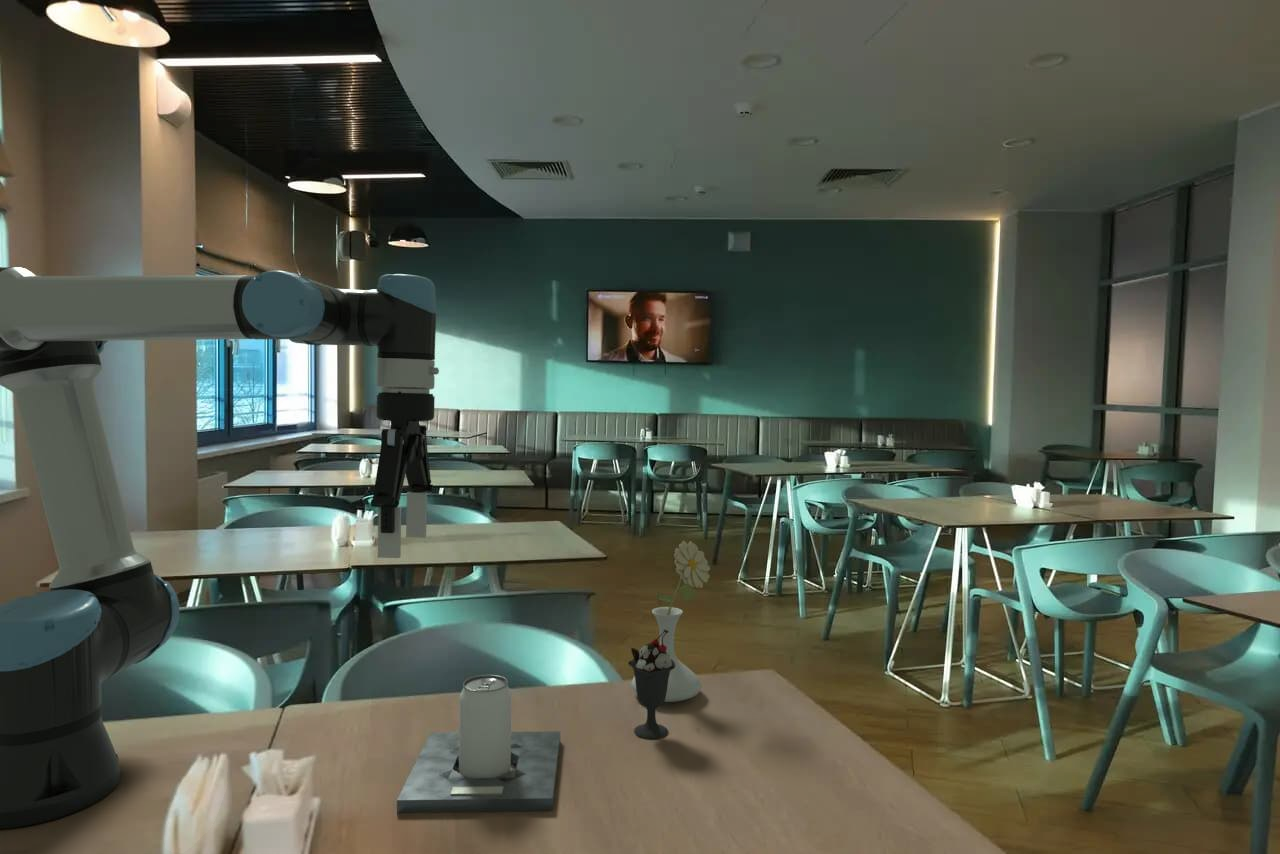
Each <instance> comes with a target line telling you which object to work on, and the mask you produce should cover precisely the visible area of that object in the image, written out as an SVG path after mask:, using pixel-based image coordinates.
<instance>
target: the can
mask: <svg viewBox="0 0 1280 854" xmlns="http://www.w3.org/2000/svg"><path fill="white" fill-rule="evenodd" d="M508 684H509V681H508V679H507V678H505V677H504V676H501V675H497V674H482V675H481V674H480V675H475V676H472V677H470V678H467V679H465V680H464V682H463V684H462V686H463V688H462V690H461V692H460V695H459V729H458V730H459V731H458V732H459V769H458V770H459V771H458V773H460V774H462V775H463V776H465V777H467V778H496V777H498V776H500V775H503V774H505V773H507V772H510V771H511V768H512V767H511V764H512V763H511V732H512V694H511V693H512V692H511V690H510V687H509V686H508Z"/></svg>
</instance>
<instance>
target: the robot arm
mask: <svg viewBox="0 0 1280 854" xmlns="http://www.w3.org/2000/svg"><path fill="white" fill-rule="evenodd" d="M436 301H437V299H436V285H435V284H434V282H433V281H432V280H431V279H430V278H428V277H424V276H420V275H414V274H403V273H395V274H389V273H388V274H384V275H383V274H382V275H381V276H380V277H379V278H378V283H377V286H376V288H375V289H365V290H363V289H351V288H350V289H349V288H335V287H333V286H329V285H327V284H323V283H320V282H318V281H316V280H313V279H310V278H308V277H306V276H304V275H302V274H298V273H296V272H295V271H285V270H284V271H283V270H275V269H274V270H267V271H264V272H261V273H259V274H255V275H247V274H246V275H245V274H244V275H243V274H238V275H237V274H233V275H232V274H230V275H229V274H228V275H227V274H226V275H222V274H221V275H219V274H218V275H210V274H209V275H208V274H207V275H205V274H204V275H191V274H190V275H43V274H42V275H39V274H35V273H34V272H32V271H31V270H28V269H27V268H23V267H15V266H13V267H9V266H8V267H6V266H5V267H2V266H1V267H0V386H1V387H3V388H5V390H8V391H11V393H12V394H14V399H15V402H16V406H17V409H18V414H19V417H20V421H21V425H22V429H23V433H24V436H25V440H26V445H27V449H28V451H29V456H30V459H31V460H30V461H31V464H32V468H33V470H34V475H35V479H36V482H37V487H38V491H39V494H40V499H41V503H42V506H43V509H44V513H45V514H44V515H45V517H46V521H47V524H48V529H49V534H50V537H51V541H52V545H53V549H54V552H55V556H56V557H55V558H56V560H57V563H58V568H59V569H58V572H57V574H56V575H55V577H54V578H53V579H52V580H51V582H50V583H49V590H47V591H42V592H38V593H36V594H34V595H29V596H28V595H26V596H21V597H19V598H16V599H12V600H10V601H8V602H7V601H6V602H5V603H3V604H1V605H0V829H1V830H2V829H12V828H21V827H27V826H31V825H37V824H42V823H44V822H48V821H52V820H55V819H59V818H62V817H65V816H68V815H70V814H73V813H77V812H78V811H80V810H83V809H85V808H88V806H91V805H93V804H95V803H96V802H99V801H100V800H102V799H103V798H105V797H106V796H107V795H109V794H110V793H111V792H112V791H113V790H114V789H115V788H116V787H117V785H118V784H119V782H120V780H121V773H120V772H121V769H120V767H121V764H120V758H119V756H118V753H116V750H115V748H114V745H113V742H112V740H111V737H110V735H109V733H108V731H107V729H106V727H105V725H104V722H103V718H102V712H103V711H102V683H103V682H104V681H107V680H108V679H110V678H112V677H114V676H116V675H117V674H119V673H120V672H122V671H124V670H126V669H128V668H130V667H131V666H132V665H135V664H138V663H141V662H143V661H144V660H146V659H148V658H149V657H150V656H152V655H153V654H154V653H155V652H156V651H157V650H158V649H160V648H162V646H164V645H165V644H167V642H168V641H169V639H170V638H171V637H172V635H173V634H174V632H175V630H176V628H177V626H178V621H179V617H180V602H179V598H178V595H177V593H176V591H175V589H174V587H173V586H172V585H171V584H170V583H169V582H168V581H166V580H163V579H162V577H161V576H160V575H157V574H155V573H154V569H153V565H152V561H151V558H149V557H147V556H145V555H144V554H141V553H139V552H137V551H136V549H135V548H134V544H133V539H132V535H131V530H130V528H129V527H130V526H129V523H128V520H127V516H126V511H125V507H124V504H123V503H124V502H123V499H122V496H121V491H120V487H119V484H118V480H117V475H116V472H115V468H114V464H113V459H112V455H111V451H110V447H109V444H108V440H107V435H106V431H105V427H104V424H103V420H102V415H101V413H100V412H101V411H100V408H99V404H98V399H97V396H96V393H95V392H96V391H95V388H94V384H93V383H94V380H95V379H96V377H97V376H98V375H99V373H100V372H101V371H102V370H103V366H102V362H101V359H100V354H102V352H103V351H104V349H105V348H104V346H105V344H106V343H107V342H108V341H110V342H111V341H115V342H116V341H181V340H182V341H185V340H187V341H189V340H190V341H192V340H194V341H195V340H196V341H197V340H203V341H204V340H208V341H209V340H289V341H290V342H292V343H294V344H301V345H302V344H303V345H304V344H305V345H306V346H307V345H309V346H316V347H317V346H322V345H325V346H326V345H327V346H366V347H374V346H375V347H376V348H377V354H376V355H377V356H376V387H378V388H379V389H381V390H380V391H381V392H378V393H377V395H376V418H377V419H378V420H380V421H389V422H390V428H382V429H381V434H380V435H381V437H380V451H379V457H378V463H377V470H376V476H375V482H374V487H373V488H374V490H373V496H372V499H371V500H370V506H371V507H372V508H378V509H377V511H378V513H377V558H380V559H381V558H382V559H400V558H401V557H402V556H401V552H402V551H401V549H402V546H401V545H402V542H401V541H402V506H399V505H400V501H401V496H402V492H403V487H404V482H405V478H406V481H407V484H408V485H407V486H408V489H409V491H407V492H406V520H405V521H406V525H405V527H406V529H405V538H413V539H414V538H419V539H421V538H422V539H423V538H424V539H425V538H426V537H427V515H428V514H427V513H428V512H427V511H428V510H427V507H428V505H427V503H428V502H427V501H428V499H427V498H428V492H429V493H430V492H433V489H434V485H433V484H432V479H431V470H430V461H429V451H428V442H427V440H428V439H427V429H428V428H427V425H426V424H420V422H430V421H433V420H434V418H435V399H436V398H435V396H434V394H433V393H430V391H431V390H433V389H434V388H435V375H439V373H440V370H439V367H437V366H436V367H435V364H436V363H435V360H436V332H437V331H436V329H437V315H438V311H437V304H436V303H437V302H436Z"/></svg>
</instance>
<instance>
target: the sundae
mask: <svg viewBox="0 0 1280 854" xmlns="http://www.w3.org/2000/svg"><path fill="white" fill-rule="evenodd" d="M664 632H666V633H668V631H667V630H664ZM664 632H663V633H664ZM663 633H662V634H663ZM666 633H665V634H666ZM662 634H661V635H662ZM665 634H664V635H665ZM661 635H660V634H659V636H658V637H657V638H654V639H652V640H651V642H650V643H645V645H643V646H642V647H641V648H640V650H639V649H637V648H635V647H631V648H630V649H631V653H632V656H633V658H632V659H631V660H630V661H628V664H627V665H629V667H631V668H632V669H633V675H634V676H635V682H636V691H637V693H636V695H637V696H636V697H637V700H638V701H639V703H640V704H641V705H642V706H643V707H644V708H646V710H647V711H646V715H647V716H646V721H645V723H643V724H640V725H637V726H635V728H634V730H633V732H634V734H635V735H636V736H638V737H639V738H641V739H645V740H658V739H663V738H664V737H666V736H667V735H668V733H669V729H668V728H667V727H666V726H664V725H662V724H659V723H657V718H656V710H657V709H658V708H659V707H661V706H662V705H663V703H665V702H664V701H665V698H666V693H667V687H668V679H669V674H670V671H671V670H672V669H674V668H675V663H674V661H673V660H672V659H671V658H670V655H669V654H667V653H666V649H667V647H666V646H665V645H663V637H664V635H663V637H662V645H660V636H661Z"/></svg>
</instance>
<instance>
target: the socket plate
mask: <svg viewBox="0 0 1280 854" xmlns="http://www.w3.org/2000/svg"><path fill="white" fill-rule="evenodd" d="M560 746H561V731H558V730H557V731H555V730H551V731H547V730H546V731H541V730H540V731H511V764H512V765H514V766H515V767H516V768H515V769H512V770H510V772H507V773H505V774H503V775H500V776H498V777H496V778H467V777H465V776H463V775H462V774H460V773H459V771H457V770H458V768H459V731H450V732H447V731H446V732H439V731H438V732H436V731H435V732H430V733H429V735H428V737H427V739H426V741H425V742H424V745H423V747H422V749H421V751H420V753H419V755H418V756H417V759H416V761H415V763H414V764H413V767H412V769H411V772H410V773H409V775H408V777H407V778H406V781H405V783H404V785H403V787H402V789H401V791H400V793H399V795H398V797H397V799H396V813H397V814H399V813H400V814H403V813H404V814H405V813H406V814H407V813H409V814H410V813H467V812H471V813H475V812H477V813H478V812H481V813H482V812H483V813H484V812H485V813H486V812H541V811H542V812H545V811H547V812H549V811H550V812H551V811H553V808H554V807H553V806H554V800H555V791H556V783H557V774H558V773H557V772H558V765H559V764H558V763H559V756H560V748H561V747H560Z"/></svg>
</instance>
